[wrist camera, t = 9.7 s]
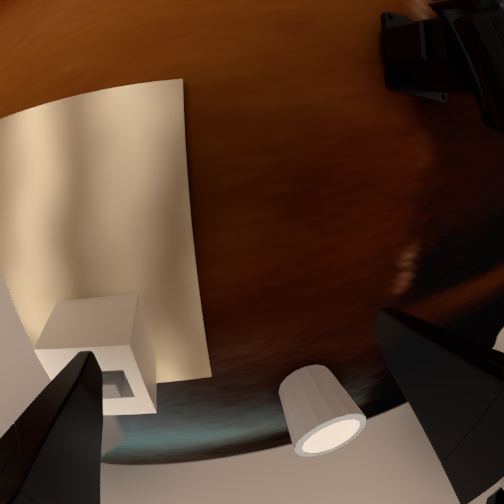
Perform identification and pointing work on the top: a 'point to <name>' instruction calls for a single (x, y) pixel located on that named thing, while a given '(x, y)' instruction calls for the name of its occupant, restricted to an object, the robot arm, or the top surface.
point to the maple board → (104, 214)
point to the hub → (104, 346)
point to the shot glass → (318, 411)
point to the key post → (112, 384)
